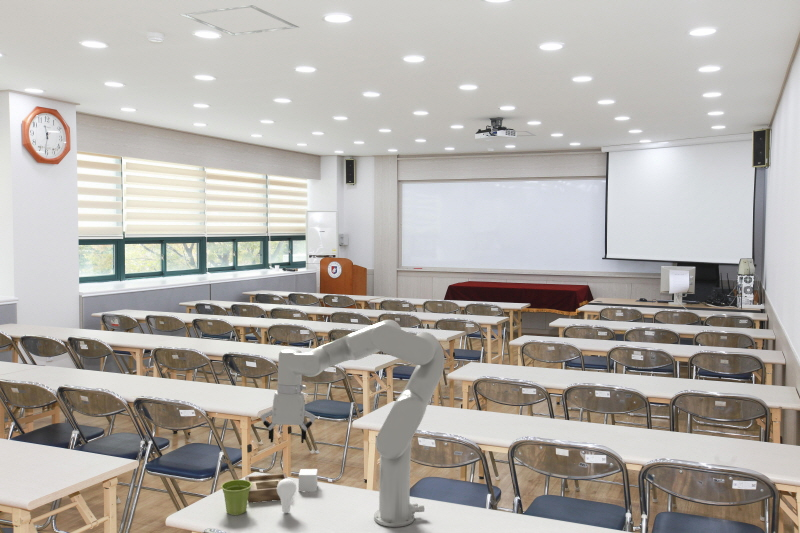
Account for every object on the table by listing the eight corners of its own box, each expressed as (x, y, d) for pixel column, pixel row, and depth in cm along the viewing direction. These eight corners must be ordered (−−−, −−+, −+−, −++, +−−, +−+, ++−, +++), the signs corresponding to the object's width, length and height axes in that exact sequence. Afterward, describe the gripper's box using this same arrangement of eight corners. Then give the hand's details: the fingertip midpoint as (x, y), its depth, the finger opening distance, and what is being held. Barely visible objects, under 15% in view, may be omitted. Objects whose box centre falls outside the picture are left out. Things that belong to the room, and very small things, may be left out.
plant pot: (252, 515, 213) (253, 488, 213) (222, 519, 210) (222, 491, 210) (250, 504, 222) (250, 478, 221) (220, 507, 219) (220, 481, 219)
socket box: (285, 484, 240) (285, 473, 240) (291, 499, 227) (291, 487, 227) (245, 487, 236) (245, 476, 236) (248, 503, 223) (248, 491, 222)
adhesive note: (315, 492, 234) (316, 475, 233) (298, 492, 233) (298, 475, 233) (317, 485, 240) (317, 468, 239) (300, 485, 239) (300, 468, 239)
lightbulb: (294, 517, 212) (294, 482, 212) (274, 516, 212) (274, 482, 212) (297, 509, 218) (297, 475, 218) (278, 509, 218) (278, 475, 218)
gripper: (316, 386, 220) (314, 438, 221) (262, 385, 218) (260, 437, 219) (316, 392, 212) (314, 445, 213) (260, 390, 210) (258, 445, 211)
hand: (287, 441), depth 216 cm, fingers open, 9 cm apart
